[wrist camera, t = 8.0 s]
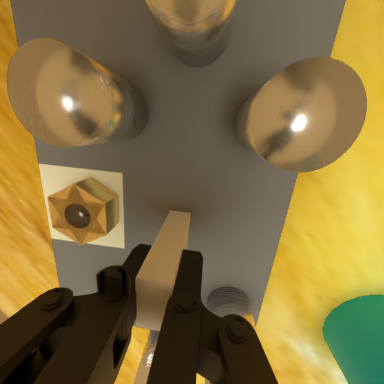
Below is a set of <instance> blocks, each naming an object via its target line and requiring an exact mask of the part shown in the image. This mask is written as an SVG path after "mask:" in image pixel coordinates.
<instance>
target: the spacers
mask: <svg viewBox="0 0 384 384" xmlns="http://www.w3.org/2000/svg"><path fill="white" fill-rule="evenodd" d="M145 1H146V3H147V5H148V7H149V9H150V11H151V13H152V15H153V17H154V19H155V21H156V23H157V25H158V27H159V29H160V30H161V32H162V34H163V36H164V38H165V40H166V42H167V44H168V46H169V48H170V50H171V52H172V53H173V55H174V56H175V57H176V58H177V59H178V60H179V61H180V62H181V63H183V64H185V65H187V66H190V67H204V66H207V65H209V64H211V63H213V62H214V61H215V60H217V59H218V58H219V57H220V56H221V55H222V53H223V52H224V50H225V48H226V47H227V44H228V42H229V39H230V35H231V30H232V25H233V20H234V15H235V10H236V5H237V0H145ZM7 90H8V95H9V99H10V102H11V105H12V108H13V110H14V112H15V114H16V115H17V117H18V119H19V120H20V122H21V123H22V124H23V126H24V127H25V128H26V129H27V130H28V131H29V132H30V133H31V134H32V135H33V136H35V137H36V138H37V139H39V140H41V141H42V142H44V143H46V144H49V145H52V146H55V147H64V148H66V147H75V146H83V145H91V144H99V143H108V142H116V141H124V140H130V139H133V138H135V137H137V136H138V135H139V134H140V133H141V132H142V131H143V130H144V128H145V126H146V124H147V120H148V106H147V102H146V99H145V97H144V95H143V94H142V92H141V91H140V90H139V89H138V87H136V86H135V85H134V84H132V83H131V82H129V81H128V80H126V79H124V78H122V77H121V76H119V75H117V74H116V73H114V72H112V71H111V70H109V69H107V68H105V67H104V66H102V65H100V64H99V63H97V62H95V61H94V60H92V59H90V58H88V57H87V56H85V55H83V54H82V53H80V52H78V51H77V50H75V49H73V48H71V47H70V46H68V45H66V44H64V43H62V42H60V41H57V40H54V39H49V38H38V39H33V40H30V41H28V42H26V43H24V44H23V45H22V46H20V47H19V48H18V49H17V51H16V52H15V53H14V55H13V57H12V58H11V61H10V63H9V66H8V71H7ZM366 110H367V98H366V92H365V89H364V86H363V83H362V81H361V79H360V78H359V76H358V75H357V73H356V72H355V71H354V70H353V69H352V68H351V67H349V66H348V65H347V64H345V63H343V62H341V61H339V60H336V59H333V58H327V57H312V58H307V59H303V60H300V61H297V62H295V63H293V64H291V65H289V66H287V67H285V68H284V69H283V70H281V71H280V72H279V73H277V74H276V75H275V76H274V77H273V78H271V79H270V80H269V81H268V82H267V83H266V84H264V85H263V86H262V87H261V88H260V89H258V90H257V91H256V92H255V93H254V94H253V95H251V96H250V97H249V98H248V99H247V100H246V101H245V102H244V103H243V104H242V105H241V107H240V108H239V110H238V112H237V114H236V117H235V121H234V131H235V136H236V138H237V140H238V142H239V144H240V145H241V146H242V147H243V148H244V149H246V150H247V151H249V152H251V153H252V154H254V155H256V156H257V157H259V158H261V159H263V160H264V161H266V162H268V163H270V164H271V165H273V166H275V167H277V168H279V169H281V170H285V171H289V172H309V171H314V170H317V169H320V168H322V167H325V166H327V165H329V164H330V163H332V162H334V161H335V160H337V159H338V158H339V157H341V156H342V155H343V154H344V153H345V152H346V151H347V150H348V149H349V148H350V147H351V145H352V144H353V143H354V141H355V140H356V138H357V137H358V135H359V133H360V131H361V129H362V126H363V124H364V120H365V116H366ZM207 309H208V310H209V311H210V312H212V313H213V314H215V315H217V316H219V317H221V318H223V317H224V316H225V315H229V314H236V315H239V316H242V317H244V318H245V319H246V320H247V321H248V322H250V323H251V325H252V326H253V328H254V330H255V332H256V334H257V331H256V327H255V322H254V318H253V313H252V309H251V304H250V300H249V298H248V296H247V295H246V294H245V293H244V292H243V291H242V290H240V289H238V288H235V287H220V288H218V289H215V290H214V291H213V292H211V293H210V295H209V296H208V299H207ZM159 332H160V331H156V330H150V332H149V335H148V338H147V342H146V345H145V348H144V351H143V355H142V358H141V361H140V364H139V368H138V371H137V374H136V377H135V381H134V384H146V382H147V378H148V375H149V371H150V367H151V363H152V359H153V355H154V352H155V348H156V344H157V340H158V336H159ZM257 336H258V335H257ZM205 384H210V382H209V380H207V379H206V378H205Z"/></svg>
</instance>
